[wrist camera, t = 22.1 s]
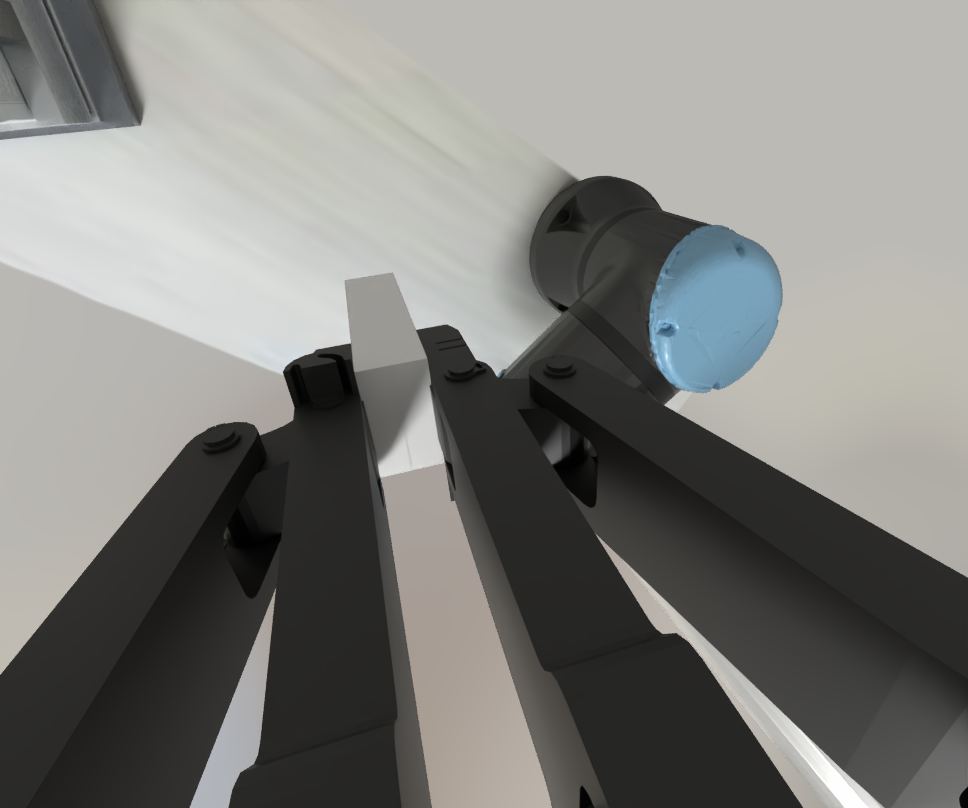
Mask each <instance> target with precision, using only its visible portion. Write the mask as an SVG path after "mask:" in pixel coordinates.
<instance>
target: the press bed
mask: <svg viewBox="0 0 968 808" xmlns="http://www.w3.org/2000/svg"><path fill="white" fill-rule="evenodd" d="M42 2H43V4H44V6H45V9H46V11H47V13H48V16H49V18H50V20H51V23H52V25H53V27H54V30H55V32H56V35H57V37H58V39H59V42H60V44H61V46H62V49H63V51H64V53H65V56H66V58H67V60H68V63H69V65H70V68H71V70H72V72H73V75H74V77H75V79H76V82H77V84H78V86H79V89H80V91H81V93H82V96H83V98H84V100H85V103H86V105H87V108H88V110H89V112H90V115H91V117H92V119H93V122H92V123H82V124H72V125H56V126H40V127H39V126H38V124H37V122H36V121H32V122H21V123H10V124H0V140H2V139H12V138H21V137H31V136H41V135H51V134H61V133H71V132H81V131H91V130H101V129H111V128H121V127H131V126H141V125H140V122H139V120H138V117H137V114H136V112H135V109H134V107H133V104H132V101H131V99H130V96H129V94H128V91H127V88H126V86H125V83H124V81H123V78H122V75H121V73H120V70H119V68H118V65H117V62H116V60H115V57H114V55H113V52H112V49H111V47H110V44H109V42H108V39H107V36H106V34H105V31H104V28H103V26H102V23H101V21H100V18H99V15H98V13H97V10H96V8H95V5H94V2H93V0H42Z"/></svg>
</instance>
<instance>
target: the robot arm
mask: <svg viewBox="0 0 968 808" xmlns="http://www.w3.org/2000/svg"><path fill="white" fill-rule="evenodd" d="M530 269H531V274H532V278H533V281H534V284H535V286H536V288H537V290H538V292H539V293H540V295H541V296H542V297H543V298H544V300H545V301H546V302H547V303H548V304H549V305H551V306H552V307H553V308H554V309H555V310H557V311H558V312H559V313H561V314H562V315H561V316H560V317H559V318H558V319H557V320H556V321H555V322H554V323H553V324H552V325H551V326H550V327H548V328H547V329H546V330H545V331H544V332H543V333H542V334H541V335H540V336H539V337H538V338H537V339H536V340H535V341H534V342H533V343H532V344H531V345H530V346H529V347H528V348H527V349H526V350H525V351H524V352H523V353H522V354H521V355H520V356H519V357H518V358H517V359H516V360H515V361H514V362H513V363H512V364H511V365H510V366H509V367H508V368H507V369H504V370H502V371H501V372H500V373H499V374H498V376H496V375H495V373H494V371H493V370H492V368H491V367H490V366H489V365H487V364H486V363H484V362H480V361H477V360H476V359H475V358H474V356H473V354H472V353H471V351H470V349H469V347H468V346H467V344H466V342H465V341H464V339H463V337H462V336H461V334H460V332H459V331H458V330H457V329H455V328H453V327H451V326H449V325H441V326H436V327H430V328H425V329H419V330H416V329H415V327H414V324H413V322H412V319H411V317H410V314H409V312H408V309H407V307H406V304H405V302H404V299H403V297H402V294H401V292H400V289H399V287H398V284H397V282H396V279H395V277H394V274H393V273H388V274H381V275H375V276H369V277H363V278H357V279H350V280H345V289H346V299H347V308H348V318H349V328H350V338H351V344H345V345H340V346H334V347H329V348H323V349H318V350H316V351H315V352H314V353H312V354H309V355H305V356H303V357H300V358H298V359H296V360H294V361H292V362H291V363H290V364H288V365H287V366H286V367H285V369H284V371H283V374H284V377H285V380H286V383H287V386H288V389H289V392H290V395H291V398H292V401H293V404H294V407H295V409H294V419H293V421H291V422H290V423H288V424H286V425H285V426H283V427H280V428H278V429H276V430H273V431H271V432H268V433H266V434H263V435H259V432H258V430H257V429H256V427H255V426H254V425H252V424H249V423H247V422H233V423H227V424H225V423H224V424H220V425H216V427H215V426H213V427H211V428H208V429H207V430H206V431H205V432H203V433H201V434H199V435H197V436H196V437H194V438H193V439H192V440H191V441H190V442H189V443H188V444H187V445H186V446H185V447H184V448H183V450H182V451H181V452H180V453H179V455H178V456H177V457H176V458H175V460H174V461H173V462H172V463H171V465H170V466H169V467H168V468H167V469H166V471H165V472H164V473H163V474H162V476H161V477H160V478H159V479H158V481H157V482H156V483H155V484H154V486H153V487H152V488H151V489H150V490H149V492H148V493H147V494H146V495H145V497H144V498H143V499H142V500H141V502H140V503H139V504H138V505H137V507H136V508H135V509H134V510H133V512H132V513H131V514H130V516H128V518H127V519H126V520H125V521H124V523H123V524H122V525H121V527H120V528H119V529H118V530H117V531H116V533H115V534H114V535H113V536H112V538H111V539H110V540H109V541H108V542H107V544H106V545H105V546H104V547H103V549H102V550H101V551H100V552H99V554H98V555H97V556H96V558H95V559H94V560H93V561H92V562H91V564H90V565H89V566H88V567H87V568H86V570H85V571H84V572H83V573H82V575H81V576H80V577H79V578H78V580H77V581H76V582H75V584H74V585H73V586H72V587H71V588H70V590H69V591H68V592H67V593H66V594H65V596H64V597H63V598H62V599H61V601H60V602H59V603H58V604H57V606H56V607H55V608H54V609H53V611H52V612H51V613H50V614H49V615H48V617H47V618H46V619H45V620H44V622H43V623H42V624H41V626H40V627H39V628H38V629H37V630H36V632H35V633H34V634H33V635H32V637H31V638H30V639H29V640H28V641H27V643H26V644H25V645H24V646H23V648H22V649H21V651H19V653H18V654H17V655H16V656H15V658H14V659H13V660H12V661H11V662H10V664H9V665H8V666H7V667H6V669H5V670H4V671H3V672H2V674H1V675H0V808H189V807H190V805H191V802H192V800H193V797H194V795H195V792H196V789H197V787H198V784H199V782H200V779H201V777H202V774H203V772H204V769H205V767H206V764H207V761H208V759H209V756H210V754H211V751H212V749H213V746H214V744H215V741H216V739H217V736H218V734H219V731H220V728H221V726H222V723H223V721H224V718H225V715H226V713H227V711H228V708H229V705H230V703H231V700H232V698H233V695H234V693H235V690H236V688H237V685H238V682H239V680H240V678H241V675H242V672H243V670H244V667H245V665H246V662H247V659H248V657H249V655H250V652H251V650H252V647H253V644H254V641H255V639H256V637H257V634H258V632H259V629H260V627H261V624H262V622H263V619H264V616H265V614H266V611H267V609H268V606H269V604H270V601H271V599H272V596H273V593H274V591H275V588H276V595H275V604H274V614H273V623H272V633H271V643H270V653H269V663H268V673H267V682H266V692H265V702H264V712H263V722H262V731H261V740H260V747H259V753H258V756H257V759H256V761H255V763H254V765H252V766H250V767H249V768H247V769H246V770H244V771H243V772H241V773H240V775H239V777H238V779H237V781H236V783H235V785H234V787H233V790H232V794H231V799H230V804H229V808H432V806H431V799H430V793H429V786H428V780H427V773H426V766H425V760H424V754H423V747H422V740H421V734H420V727H419V720H418V715H417V707H416V701H415V694H414V688H413V682H412V675H411V668H410V661H409V655H408V649H407V642H406V635H405V629H404V622H403V616H402V609H401V603H400V596H399V589H398V583H397V576H396V570H395V563H394V556H393V550H392V545H391V544H392V543H391V537H390V530H389V524H388V517H387V511H386V504H385V498H384V491H383V487H382V483H381V479H380V478H381V477H385V476H389V475H394V474H398V473H402V472H407V471H411V470H415V469H419V468H424V467H428V466H432V465H437V464H441V463H444V460H443V455H444V459H445V466H446V472H447V478H448V484H449V491H450V497H451V501H454V500H455V502H456V504H457V508H458V511H459V514H460V517H461V520H462V523H463V526H464V529H465V533H466V536H467V539H468V542H469V545H470V548H471V551H472V554H473V557H474V561H475V563H476V567H477V570H478V573H479V576H480V579H481V582H482V585H483V588H484V592H485V595H486V598H487V601H488V604H489V607H490V610H491V613H492V616H493V620H494V622H495V626H496V629H497V632H498V635H499V638H500V641H501V644H502V647H503V651H504V654H505V657H506V659H507V663H508V666H509V669H510V672H511V675H512V679H513V682H514V685H515V688H516V691H517V694H518V697H519V700H520V703H521V706H522V709H523V713H524V716H525V719H526V722H527V725H528V728H529V731H530V734H531V737H532V741H533V744H534V747H535V750H536V753H537V756H538V759H539V762H540V765H541V768H542V771H543V775H544V778H545V781H546V785H547V788H548V792H549V796H550V800H551V805H552V808H803V807H802V805H801V804H800V802H799V801H798V799H797V798H796V796H795V795H794V794H793V792H792V791H791V789H790V788H789V786H788V785H787V783H786V782H785V780H784V779H783V777H782V776H781V774H780V773H779V771H778V770H777V768H776V767H775V765H774V764H773V763H772V761H771V760H770V758H769V757H768V755H767V754H766V752H765V751H764V749H763V748H762V746H761V745H760V743H759V742H758V740H757V739H756V737H755V736H754V735H753V733H752V732H751V730H750V729H749V727H748V726H747V724H746V723H745V721H744V720H743V719H742V717H741V715H740V714H739V712H738V711H737V710H736V708H735V707H734V705H733V704H732V702H731V701H730V699H729V698H728V696H727V695H726V693H725V692H724V690H723V689H722V687H721V686H720V684H719V683H718V682H717V680H716V679H715V677H714V676H713V674H712V673H711V671H710V670H709V668H708V667H707V665H706V664H705V662H704V661H703V659H702V658H701V657H700V656H699V654H698V653H697V652H696V651H695V649H694V648H693V647H692V646H691V645H690V643H689V642H688V641H686V640H685V639H684V638H682V637H681V636H679V635H678V634H677V633H674V634H673V633H672V634H662V633H660V632H659V631H658V630H656V628H655V627H654V626H653V625H652V624H651V622H650V621H649V619H648V617H647V616H646V614H645V613H644V611H643V609H642V608H641V606H640V605H639V603H638V601H637V600H636V598H635V597H634V595H633V594H632V592H631V590H630V589H629V587H628V585H627V584H626V582H625V581H624V579H623V578H622V576H621V574H620V573H619V571H618V569H617V568H616V566H615V565H614V563H613V562H612V560H611V558H610V557H609V555H608V554H607V552H606V550H605V549H604V547H603V546H602V544H601V543H600V541H599V539H598V538H597V536H596V534H597V535H598V536H599V537H600V538H601V539H602V540H603V541H604V542H605V543H606V544H607V545H608V546H609V547H610V548H611V549H612V550H613V551H614V552H615V553H617V554H618V555H619V557H620V558H621V559H622V560H623V561H624V562H625V564H626V565H627V566H628V567H629V569H630V570H631V571H632V572H633V573H634V575H635V576H636V577H637V578H638V579H639V581H640V582H641V583H642V584H643V586H644V587H645V588H646V589H647V590H648V591H649V593H650V594H651V595H652V596H653V598H654V599H655V600H656V601H657V602H658V604H659V605H660V606H661V607H662V608H663V610H664V611H665V612H666V613H667V615H668V616H669V617H670V618H671V619H672V621H673V622H674V623H675V624H676V625H677V627H678V628H679V629H680V630H681V631H682V633H683V634H684V635H685V636H686V637H687V639H688V640H689V641H690V642H691V644H692V645H693V646H694V647H695V648H696V650H697V651H698V652H699V653H700V654H701V655H702V657H703V658H704V659H705V660H706V662H707V663H708V664H709V665H710V666H711V668H712V669H713V670H714V671H715V672H716V674H717V675H718V676H719V677H720V678H721V680H722V681H723V682H724V683H725V684H726V686H727V687H728V688H729V689H730V691H731V692H732V693H733V694H734V695H735V697H736V698H737V699H738V700H739V701H740V703H741V704H742V705H743V706H744V708H745V709H746V710H747V711H748V712H749V714H750V715H751V716H752V717H753V718H754V719H755V721H756V722H757V723H758V724H759V726H760V727H761V728H762V729H763V730H764V731H765V733H766V734H767V735H768V736H769V738H770V739H771V740H772V741H773V742H774V744H775V745H776V746H777V747H778V748H779V750H780V751H781V752H782V753H783V755H784V756H785V757H786V758H787V759H788V761H789V762H790V763H791V764H792V765H793V767H794V768H795V769H796V770H797V772H798V773H799V774H800V775H801V776H802V778H803V779H804V780H805V781H806V782H807V784H808V785H809V786H810V787H811V788H812V789H813V791H814V792H815V793H816V794H817V795H818V797H819V798H820V799H821V801H822V802H823V803H824V804H825V805H826V806H827V808H968V578H967V577H965V576H964V575H962V574H960V573H958V572H957V571H955V570H953V569H951V568H950V567H948V566H946V565H944V564H943V563H941V562H939V561H937V560H935V559H933V558H932V557H930V556H928V555H927V554H925V553H923V552H921V551H920V550H918V549H916V548H914V547H913V546H911V545H909V544H907V543H905V542H904V541H902V540H900V539H898V538H897V537H895V536H893V535H891V534H890V533H888V532H886V531H884V530H883V529H881V528H879V527H877V526H875V525H874V524H872V523H870V522H868V521H867V520H865V519H863V518H862V517H860V516H858V515H856V514H854V513H853V512H851V511H849V510H847V509H846V508H844V507H842V506H840V505H839V504H837V503H835V502H833V501H832V500H830V499H828V498H826V497H824V496H823V495H821V494H819V493H817V492H816V491H814V490H812V489H810V488H809V487H807V486H805V485H803V484H802V483H799V482H798V481H796V480H794V479H793V478H791V477H789V476H787V475H786V474H784V473H782V472H780V471H779V470H777V469H775V468H773V467H771V466H770V465H768V464H766V463H765V462H763V461H761V460H759V459H757V458H756V457H754V456H752V455H750V454H749V453H747V452H745V451H743V450H741V449H740V448H738V447H736V446H734V445H733V444H731V443H729V442H727V441H726V440H724V439H722V438H720V437H718V436H717V435H715V434H713V433H711V432H710V431H708V430H706V429H704V428H703V427H701V426H699V425H698V424H696V423H694V422H692V421H690V420H689V419H687V418H685V417H683V416H682V415H680V414H678V413H676V412H675V411H673V410H671V409H669V408H668V407H666V406H664V405H665V404H666V403H667V402H668V401H669V400H670V399H671V398H672V397H673V396H675V395H676V394H677V393H678V392H679V391H680V390H681V389H682V390H683V391H691V392H696V393H707V392H710V391H711V389H712V388H714V389H717V390H720V389H722V388H725V387H727V386H729V385H731V384H732V383H734V382H735V381H737V380H738V379H740V378H741V377H742V376H744V375H745V374H746V373H747V372H748V371H749V370H750V369H751V368H752V367H753V365H755V363H756V362H757V361H758V360H759V359H760V357H761V356H762V355H763V353H764V352H765V350H766V348H767V347H768V345H769V343H770V341H771V339H772V337H773V335H774V333H775V330H776V327H777V324H778V319H777V318H778V314H779V311H780V308H781V306H782V282H781V277H780V273H779V270H778V268H777V265H776V263H775V261H774V260H773V258H772V257H771V255H770V254H769V253H768V252H767V251H766V250H765V249H764V248H763V247H762V246H760V245H759V244H758V243H756V242H754V241H753V240H750V239H748V238H746V237H743V236H741V235H739V234H737V233H736V232H734V231H733V230H729V228H727V227H724V226H720V225H710V224H707V223H703V222H699V221H696V220H693V219H689V218H686V217H682V216H679V215H675V214H672V213H668V212H665V211H663V210H662V209H661V208H660V206H659V204H658V203H657V201H656V200H655V199H654V197H652V195H651V194H650V193H649V192H648V191H647V190H645V189H644V188H643V187H641V186H639V185H638V184H636V183H634V182H631V181H629V180H625V179H621V178H617V177H612V176H597V177H592V178H587V179H584V180H582V181H579V182H577V183H575V184H573V185H571V186H570V187H568V188H567V189H565V190H564V191H563V192H561V193H560V194H559V195H558V196H557V197H556V198H555V199H554V200H553V201H552V202H551V203H550V204H549V206H548V207H547V208H546V210H545V211H544V213H543V214H542V216H541V218H540V220H539V222H538V224H537V226H536V228H535V231H534V234H533V238H532V242H531V247H530ZM442 452H443V453H442ZM594 532H595V533H596V534H595V533H594Z"/></svg>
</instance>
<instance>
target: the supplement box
mask: <svg viewBox="0 0 968 808" xmlns="http://www.w3.org/2000/svg"><path fill="white" fill-rule="evenodd" d="M32 121H36V120H35V118H34V116H33V113H32V111H31V109H30V107H29V105H28V103H27V101H26V99H25V97H24V95H23V92H22V90H21V88H20V86H19V84H18V82H17V80H16V78H15V76H14V73H13V71H12V69H11V67H10V65H9V63H8V61H7V59H6V57H5V55H4V52H3V50H2V48H1V46H0V124H10V123H21V122H32Z"/></svg>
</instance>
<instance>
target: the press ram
mask: <svg viewBox="0 0 968 808" xmlns="http://www.w3.org/2000/svg"><path fill="white" fill-rule="evenodd" d="M0 46H1V48H2V50H3V52H4V55H5V57H6V59H7V61H8V63H9V65H10V67H11V69H12V71H13V73H14V76H15V78H16V80H17V82H18V84H19V86H20V88H21V90H22V92H23V95H24V97H25V99H26V101H27V103H28V105H29V107H30V109H31V111H32V113H33V116H34V118H35V120H36V122H37V124H38V126H39V127H40V126H56V125H72V124H82V123H92V122H93V119H92V117H91V115H90V112H89V110H88V108H87V105H86V103H85V100H84V98H83V96H82V93H81V91H80V89H79V86H78V84H77V82H76V79H75V77H74V75H73V72H72V70H71V68H70V65H69V63H68V60H67V58H66V56H65V53H64V51H63V49H62V46H61V44H60V42H59V39H58V37H57V35H56V32H55V30H54V27H53V25H52V23H51V20H50V18H49V16H48V13H47V11H46V9H45V6H44V4H43V2H42V0H0Z"/></svg>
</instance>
